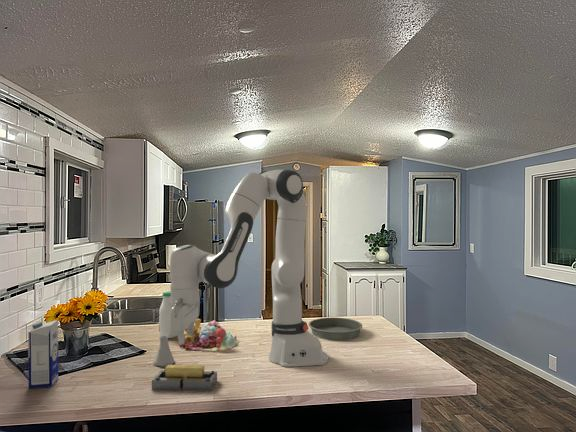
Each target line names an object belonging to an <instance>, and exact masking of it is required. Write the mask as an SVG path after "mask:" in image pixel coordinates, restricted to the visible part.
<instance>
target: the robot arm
mask: <svg viewBox="0 0 576 432" xmlns="http://www.w3.org/2000/svg"><path fill="white" fill-rule="evenodd" d="M303 192H304V183H303V179H302V176H301V174H300V173H298V172H297V171H295V170H292V169H272V170H265V171H262V172H260V173H259V172H248V173H246V174H245V175H244V176H243V177H242V179H241V180H240V181H239V183H238V184H237V185H236V187H235V188H234V189H233V191H232V194H231V195H230V197H228V198H229V199H228V201H227V202H226V205H225V209H224V214H225V216H226V219H227V220H228V222H229V224H230V231H229V232H228V235H227V237H226V240H225V241H224V244H223V246H222V248H221V251H219V252H218V253H217V254H215V253H211V252H207V251H205V250H202V249H200V248H198V247H196V245H194V244H186V245H181V246H177V247H175V248H174V249H172V250H171V253H170V259H169V275H170V279H171V282H170V291H171V303H174V304H175V306H174V307H172V309H171V324H170V327H171V332H173V333H176V334H177V336H176V337H177V342H178V343H177V344H178V345H179V344H184V343H185V337H184V334H185V329H186V328H187V327H188V329H187V332H186V333H187V335H192V334H193V333H194V330H193V328H194V326H195V320H196V319H199V316H200V309H201V308H200V306H201V305H200V304H201V303H200V302H201V301H200V299H201V296H202V289H199V288H200V287H199V286H200V285H199V284H200V283H205V284H209V285H210V286H212V287H214V288H217V289H225V288H227V287H229V286H230V285H232V284H233V283H234V281H235V280H236V278H237V275H238V272H239V271H238V270H239V269H238V268H239V262H240V260H241V257H242V255H243V252H244V250H245V248H246V245H247V242H248V240H249V238H250V235H251V233H252V229H253V225H254V222H255V220H256V218H257V215H258V213H259V212H260V209H261V207H262V206H263V203H264V202H265V200H271V201H273V200H274V201H276V202H277V205H278V206H277V207H278V210H277V219H276V228H275V253H274V260H273V261H272V263H271V286H272V287H271V290H272V291H271V292H272V321H271V327H270V328H271V331H270V332H271V337H272V339H271V347H270V352H269V355H268V360H269V361H270V362H272V363H275V364H278V365H279V366H282V367H285V368H289V367H291V368H293V367H307V366H325V365H326V364H328V363H329V355H328V353H327V352H326V351H324V350H323V346H322V343H321V341H320V339H318V337H316V336H314V335H313V334H312V332H310V331H308V330H309V324H308V323H307V321H305V320H303V313H302V312H303V298H302V292H301V289H302V288H301V284H302V282H303V280H304V277H305V259H306V258H305V257H306V256H305V241H306V240H305V239H306V230H307V229H306V227H307V214H308V213H307V199H306V195H305V194H304V193H303Z"/></svg>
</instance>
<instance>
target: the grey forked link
mask: <svg viewBox="0 0 576 432" xmlns="http://www.w3.org/2000/svg"><path fill="white" fill-rule="evenodd" d="M217 381H218V372H217V371H215V370H210V371H204V379H199V378H185V379H184V380H183V387H182V391H190V390H194V391H197V392H199V391H200V392H203V391H204V392H212V391H213V389H214V388H215V385H216V384H217Z"/></svg>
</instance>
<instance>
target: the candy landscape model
mask: <svg viewBox="0 0 576 432" xmlns="http://www.w3.org/2000/svg"><path fill="white" fill-rule="evenodd" d="M201 323H202V319H201V318H196V319H195V323H194V328H193V330H194V333H193V334H192V335H187V329H188V327H187V328H186V329H185V330H184V337H185V343H184V344H179V343H178V346H179V348H182V347H184V350H193V351H201V352H206V353H218V352H220V353H221V352H225V351H228V350H230V349H232V348H234V347H236V346H238V344H239V341H238V339H237V337H238V336H237V335H234V336H233V334H232V333H231V332H230V331H226V329H225V328H224V327H222V326H221V325H220V323H219V321H216V320H212V321H211V320H210V321H207V322H205V323H204V326H201Z"/></svg>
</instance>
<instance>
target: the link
mask: <svg viewBox="0 0 576 432" xmlns="http://www.w3.org/2000/svg"><path fill="white" fill-rule="evenodd" d="M182 389H183V384H182V378H165V369H163V370H160V371H158V373H156V375H155V376H154V377H153V378H152V379H151V390H152V391H181V390H182Z"/></svg>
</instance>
